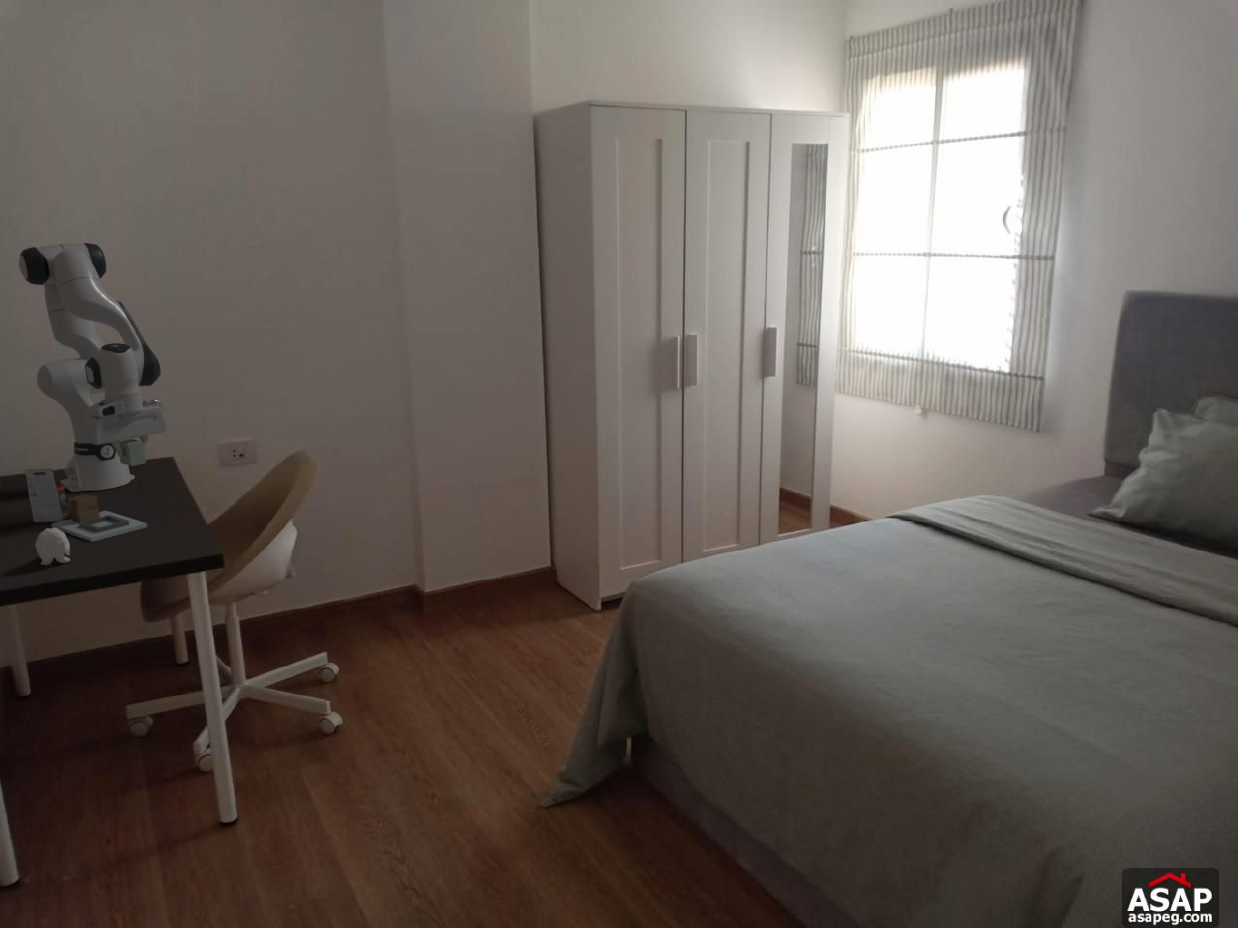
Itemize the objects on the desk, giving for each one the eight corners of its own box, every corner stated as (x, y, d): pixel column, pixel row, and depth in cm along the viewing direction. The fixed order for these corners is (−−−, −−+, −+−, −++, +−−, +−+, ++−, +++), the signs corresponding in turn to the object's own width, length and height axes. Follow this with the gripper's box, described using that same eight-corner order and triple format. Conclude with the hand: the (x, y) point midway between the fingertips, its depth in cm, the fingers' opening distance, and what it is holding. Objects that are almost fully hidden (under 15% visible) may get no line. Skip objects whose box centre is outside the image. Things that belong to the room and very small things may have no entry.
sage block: (120, 462, 265) (117, 441, 263) (134, 459, 268) (131, 438, 266) (131, 466, 261) (128, 444, 260) (145, 462, 264) (142, 441, 263)
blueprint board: (51, 527, 252) (47, 501, 251) (106, 514, 263) (102, 489, 261) (91, 541, 239) (87, 514, 238) (147, 527, 250) (143, 501, 248)
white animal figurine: (31, 532, 218) (41, 523, 229) (37, 569, 220) (47, 558, 231) (63, 528, 221) (71, 519, 232) (68, 565, 222) (77, 554, 233)
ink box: (41, 518, 261) (31, 466, 257) (70, 518, 260) (61, 465, 257) (33, 522, 257) (23, 469, 253) (62, 522, 257) (53, 468, 253)
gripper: (155, 397, 270) (162, 445, 274) (80, 409, 255) (88, 460, 258) (167, 399, 267) (174, 448, 270) (91, 412, 251) (100, 463, 254)
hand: (131, 454), depth 264 cm, fingers closed on sage block, 4 cm apart
